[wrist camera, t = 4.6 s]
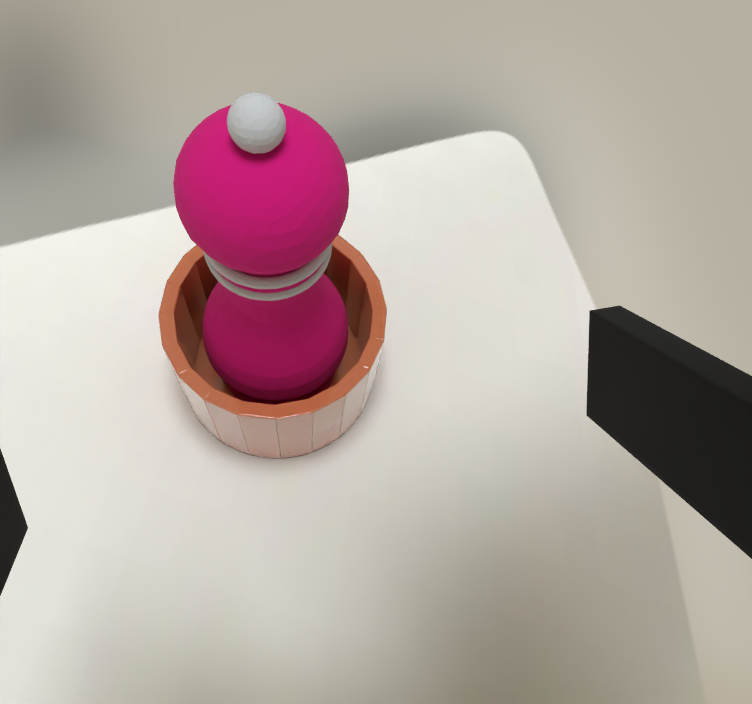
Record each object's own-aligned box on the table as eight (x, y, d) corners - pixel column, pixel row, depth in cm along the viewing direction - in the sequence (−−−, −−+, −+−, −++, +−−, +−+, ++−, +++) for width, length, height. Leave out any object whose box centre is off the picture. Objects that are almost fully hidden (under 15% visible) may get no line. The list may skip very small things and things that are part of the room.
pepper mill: (186, 371, 38) (71, 108, 19) (273, 283, 40) (244, -21, 22) (287, 452, 36) (266, 251, 18) (369, 355, 39) (425, 96, 21)
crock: (407, 401, 39) (427, 352, 32) (236, 494, 36) (221, 460, 29) (317, 258, 42) (318, 187, 35) (153, 332, 39) (122, 270, 32)
